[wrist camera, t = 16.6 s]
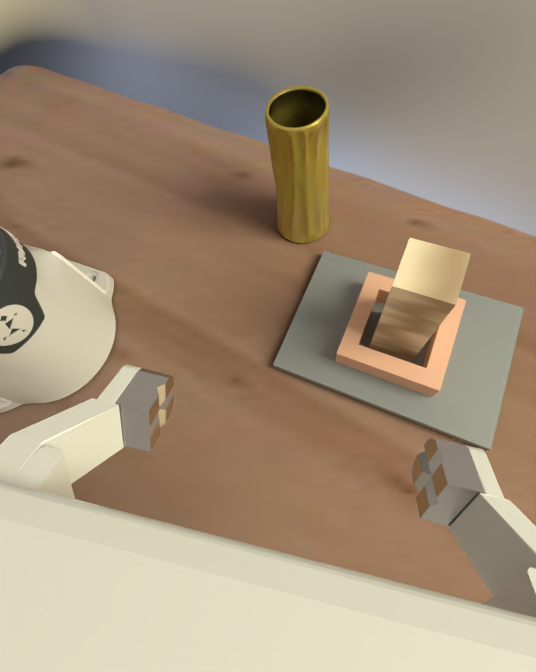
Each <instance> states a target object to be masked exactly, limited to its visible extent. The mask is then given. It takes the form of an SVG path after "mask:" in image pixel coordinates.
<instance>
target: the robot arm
mask: <svg viewBox="0 0 536 672" xmlns="http://www.w3.org/2000/svg"><path fill="white" fill-rule="evenodd" d="M94 279H96V280H95V281H93V280H94ZM113 290H114V280H113V278H112V277H111V276H110V275H108V274H107V273H105V272H102V271H99V270H96V269H93V268H90V267H87V266H84V265H82V264H79V263H76V262H73V261H70V260H67V259H65V258H64V257H63V256H61V255H60V254H58V253H57V252H55V251H51V252H48V251H46V250H43V249H40V248H36V247H32V246H28V245H24V244H21V243H20V242H19V241H18V240H17V239H16V238H15V237H14V236H13V235H12V234H11V233H9V232H8V231H7V230H5V229H3V228H2V227H0V413H2V412H6V411H8V410H11V409H13V408H16V407H18V406H20V405H22V404H30V403H47V402H52V401H56V400H59V399H62V398H64V397H66V396H69V395H70V394H72V393H74V392H76V391H77V390H79V389H80V388H81V387H83V386H84V385H85V384H86V383H88V382H89V381H90V380H91V379H92V378H93V377H94V376H95V375H96V373H97V372H98V371H99V370H100V368H101V367H102V365H103V364H104V362H105V361H106V359H107V357H108V355H109V353H110V351H111V348H112V345H113V342H114V337H115V330H116V322H115V315H114V311H113V307H112V301H111V299H112V295H113ZM173 385H174V384H173V377H172V376H170V375H166V374H163V373H159V372H155V371H151V370H147V369H144V368H139V367H135V366H131V365H125V366H123V367H122V368H121V369H120V371H119V372H118V373H117V374H116V376H115V377H114V378H113V379H112V381H111V382H110V383H109V384H108V386H107V387H106V388H105V389H104V391H103V392H102V393H101V395H100V396H99V397H98V398H97V399H93V398H92V399H89V400H87V401H85V402H83V403H80V404H78V405H76V406H74V407H72V408H69V409H67V410H65V411H63V412H60V413H58V414H56V415H54V416H51V417H49V418H47V419H45V420H42V421H40V422H38V423H36V424H33V425H31V426H29V427H27V428H24V429H22V430H20V431H18V432H15V433H13V434H11V435H9V436H8V437H7V438H6V440H5V441H4V442H3V443H2V444H1V445H0V672H536V527H535V525H534V524H533V523H532V522H531V521H530V520H529V519H528V518H527V517H526V516H525V515H524V514H523V513H522V512H521V511H520V510H519V509H518V508H517V507H516V506H515V505H514V504H513V503H512V502H511V501H510V500H507V499H504V497H503V494H502V492H501V490H500V487H499V485H498V482H497V480H496V477H495V475H494V472H493V470H492V468H491V465H490V463H489V460H488V458H487V455H486V453H485V452H484V451H483V450H482V449H479V448H475V447H470V446H466V445H462V444H457V443H453V442H449V441H444V440H440V439H435V438H430V439H428V440H427V442H426V443H425V445H424V446H425V451H424V452H422V453H420V454H418V455H417V457H416V459H415V461H414V464H413V469H412V477H413V483H414V485H415V486H416V488H417V489H418V490H419V492H420V493H419V494H418V496H417V497H416V500H417V505H418V510H419V515H420V519H423V520H427V521H431V522H434V523H438V524H441V525H445V526H449V530H450V531H451V533H452V534H453V536H454V537H455V539H456V540H457V542H458V543H459V545H460V546H461V548H462V549H463V551H464V552H465V554H466V555H467V557H468V558H469V560H470V561H471V563H472V564H473V566H474V567H475V569H476V570H477V572H478V573H479V575H480V576H481V578H482V579H483V581H484V582H485V584H486V585H487V587H488V588H489V590H490V591H491V593H492V594H493V595H492V596H490V597H489V598H488V599H486V600H485V601H484V602H482V603H478V602H474V601H470V600H466V599H462V598H459V597H455V596H451V595H447V594H443V593H439V592H435V591H431V590H427V589H423V588H420V587H416V586H412V585H408V584H404V583H400V582H396V581H392V580H388V579H385V578H381V577H377V576H373V575H369V574H365V573H361V572H357V571H353V570H349V569H346V568H342V567H338V566H334V565H330V564H326V563H322V562H318V561H314V560H311V559H307V558H303V557H299V556H295V555H291V554H287V553H283V552H279V551H275V550H271V549H267V548H264V547H260V546H256V545H252V544H248V543H244V542H240V541H236V540H232V539H228V538H224V537H221V536H217V535H213V534H209V533H205V532H201V531H197V530H193V529H189V528H186V527H182V526H178V525H174V524H170V523H166V522H162V521H158V520H154V519H151V518H147V517H143V516H139V515H135V514H131V513H127V512H123V511H119V510H115V509H112V508H108V507H104V506H100V505H96V504H92V503H88V502H84V501H80V500H77V499H75V496H74V493H73V489H72V486H71V484H72V483H73V482H75V481H76V480H77V479H79V478H80V477H82V476H83V475H85V474H86V473H87V472H89V471H90V470H92V469H93V468H95V467H96V466H98V465H99V464H100V463H102V462H103V461H105V460H106V459H108V458H109V457H111V456H112V455H113V454H115V453H116V452H118V451H119V450H121V449H122V448H123V447H124V446H127V447H132V448H137V449H141V450H146V451H150V452H151V450H152V448H153V446H154V444H155V443H156V441H157V439H158V437H159V435H160V426H162V425H164V424H165V423H166V422H167V420H168V418H169V415H170V412H171V409H172V405H173V394H172V393H171V391H170V390H171V389H172V387H173Z"/></svg>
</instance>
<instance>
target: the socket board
mask: <svg viewBox="0 0 536 672" xmlns="http://www.w3.org/2000/svg"><path fill="white" fill-rule="evenodd" d="M396 273H397V271H393V270H390V269H386V268H383V267H379V266H376V265H372V264H369V263H365V262H362V261H358V260H355V259H351V258H348V257H344V256H341V255H337V254H334V253H330V252H327V251H324V252H323V254H322V256H321V258H320V261H319V263H318V265H317V267H316V270H315V272H314V274H313V276H312V279H311V281H310V283H309V285H308V288H307V290H306V292H305V294H304V296H303V299H302V301H301V303H300V305H299V308H298V310H297V312H296V314H295V317H294V319H293V321H292V323H291V325H290V328H289V330H288V332H287V334H286V337H285V339H284V341H283V343H282V346H281V348H280V350H279V352H278V354H277V357H276V359H275V361H274V363H273V366H274V368H276V369H279V370H281V371H284V372H286V373H289V374H291V375H294V376H296V377H299V378H302V379H304V380H307V381H309V382H312V383H314V384H317V385H319V386H322V387H325V388H327V389H330V390H332V391H335V392H337V393H340V394H342V395H345V396H348V397H350V398H353V399H355V400H358V401H360V402H363V403H365V404H368V405H371V406H373V407H376V408H378V409H381V410H383V411H386V412H388V413H391V414H394V415H396V416H399V417H401V418H404V419H406V420H409V421H411V422H414V423H417V424H419V425H422V426H424V427H427V428H429V429H432V430H434V431H437V432H440V433H442V434H445V435H447V436H450V437H452V438H455V439H457V440H460V441H463V442H465V443H468V444H470V445H473V446H475V447H478V448H480V449H483V450H491V447H492V442H493V438H494V434H495V429H496V425H497V421H498V416H499V412H500V408H501V404H502V399H503V395H504V391H505V386H506V382H507V378H508V373H509V369H510V365H511V361H512V356H513V352H514V348H515V343H516V339H517V335H518V330H519V326H520V322H521V318H522V313H523V309H524V308H522V307H519V306H515V305H512V304H508V303H505V302H501V301H498V300H495V299H491V298H488V297H484V296H481V295H477V294H474V293H470V292H467V291H463V290H460V292H459V296H458V299H457V302H456V305H455V306H454V308H453V309H452V310H451V312H450V313H449V314H448V315H447V317H446V318H445V319H444V321H443V322H442V323H441V324H440V326H439V327H438V328H437V330H436V331H435V332H434V333H433V335H432V336H431V337H430V339H429V340H428V341H427V342H426V344H425V345H424V346H423V348H422V349H421V350H420V351H419V353H418V354H417V355H416V357H415V358H414V359H413V360H412V362H408V361H405V360H402V359H399V358H396V357H394V356H391V355H388V354H385V353H382V352H379V351H376V350H374V349H371V348H369V346H370V343H371V341H372V338H373V335H374V333H375V330H376V327H377V324H378V322H379V319H380V316H381V314H382V311H383V308H384V305H385V303H386V300H387V297H388V295H389V292H390V289H391V287H392V284H393V281H394V279H395V276H396Z"/></svg>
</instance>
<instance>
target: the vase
mask: <svg viewBox="0 0 536 672" xmlns="http://www.w3.org/2000/svg"><path fill="white" fill-rule="evenodd" d="M265 121H266V127H267V134H268V140H269V147H270V153H271V161H272V168H273V174H274V179H275V184H276V193H277V218H278V221H277V226H278V229H279V231H280V233H281V234H282V236H283V237H285V238H286V239H288V240H290V241H292V242H295V243H309V242H312V241H315V240H317V239H318V238H320V237H321V236H323V235H324V234H325V232H326V231H327V229H328V227H329V224H330V217H329V206H328V199H329V198H328V193H329V180H328V178H329V163H328V162H329V160H328V159H329V154H328V151H329V150H328V141H329V102H328V99H327V97H326V96H325V95H324V93H323V92H322V91H320V90H318V89H316V88H313V87H309V86H292V87H289V88H286V89H283V90H281V91H279V92H277V93H276V94H274V95H273V96H272V97H271V99H269V101H268V103H267V105H266V110H265Z"/></svg>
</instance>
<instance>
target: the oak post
mask: <svg viewBox="0 0 536 672" xmlns="http://www.w3.org/2000/svg"><path fill="white" fill-rule="evenodd" d="M470 256H471V254H470V253H466V252H462V251H459V250H455V249H451V248H447V247H443V246H439V245H436V244H432V243H428V242H424V241H420V240H416V239H412V238H410V239H409V241H408V244H407V247H406V249H405V252H404V255H403V257H402V260H401V263H400V265H399V268H398V271H397V273H396V276H395V279H394V281H393V284H392V287H391V289H390V292H389V295H388V297H387V300H386V303H385V305H384V308H383V311H382V314H381V316H380V319H379V322H378V324H377V327H376V330H375V333H374V335H373V338H372V341H371V343H370V346H369V348H371V349H374V350H376V351H379V352H382V353H385V354H388V355H391V356H394V357H396V358H399V359H402V360H405V361H408V362H412V360H413V359H414V358H415V357H416V355H417V354H418V353H419V351H420V350H421V349H422V348H423V346H424V345H425V344H426V342H427V341H428V340H429V339H430V337H431V336H432V335H433V333H434V332H435V331H436V330H437V328H438V327H439V326H440V324H441V323H442V322H443V321H444V319H445V318H446V317H447V315H448V314H449V313H450V312H451V310H452V309H453V308H454V306H455V305H456V302H457V299H458V296H459V292H460V289H461V286H462V282H463V279H464V276H465V272H466V269H467V266H468V262H469V259H470Z"/></svg>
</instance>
